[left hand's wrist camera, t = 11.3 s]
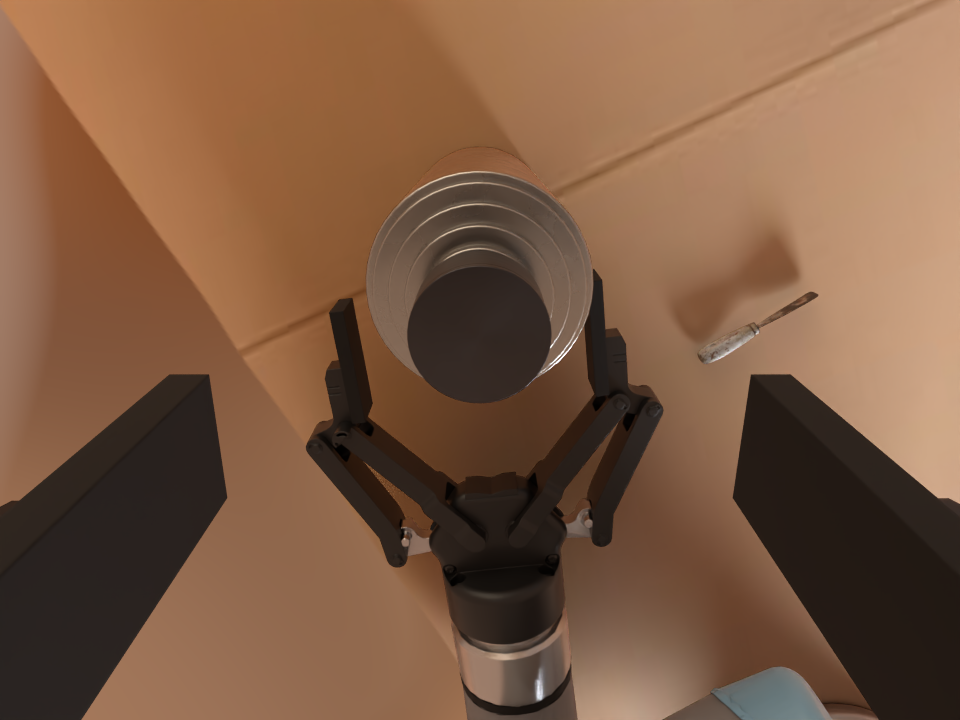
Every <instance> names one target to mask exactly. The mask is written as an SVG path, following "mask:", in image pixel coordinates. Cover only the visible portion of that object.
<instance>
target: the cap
mask: <svg viewBox="0 0 960 720" xmlns="http://www.w3.org/2000/svg"><path fill="white" fill-rule="evenodd" d="M551 340H552V329H551V322H550V317H549V314H548V311H547V308H546V305H545V302H544V299H543V296H542V294H541V291H540V288H539V286H538V284H537V283H536V281H535V279H534V278H533V277H532V275H531V274H530V273H529V272H528V271H527V270H526V269H525V268H524V267H523V266H522V265H521V264H519V263H518V262H516V261H515V260H513V259H512V258H509V257H507V256H505V255H503V254H499V253H496V252H491V251H479V250H477V251H468V252H463V253H459V254H457V255H454V256H451V257H450V258H448V259H446V260H444V261H443V262H441V263H440V264H438V265H437V266H436V267H435V268H434V269H433V270H432V271H431V272H430V273H429V274H428V275H427V277H426V278H425V279H424V281H423V283H422V284H421V286H420V289H419V291H418V293H417V296H416V299H415V302H414V305H413V307H412V310H411V313H410V317H409V321H408V328H407V341H408V348H409V352H410V355H411V358H412V360H413V362H414V365H415V366H416V368H417V370H418V371H419V373H420V374H421V375H422V377H423V378H424V379H425V380H426V381H427V382H428V383H429V384H430V385H431V386H432V387H434V388H435V389H436V390H438V391H439V392H441V393H443V394H444V395H446V396H448V397H451V398H453V399H456V400H460V401H463V402H470V403H490V402H495V401H500V400H503V399H506V398H508V397H510V396H512V395H515V394H517V393H518V392H520V391H521V390H523V389H524V388H525V387H527V386H528V385H529V384H530V383H531V382H532V381H533V380H534V379H535V378H536V377H537V375H538V374H539V373H540V371H541V370H542V368H543V366H544V364H545V362H546V360H547V357H548V355H549V352H550V347H551Z"/></svg>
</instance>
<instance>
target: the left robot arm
mask: <svg viewBox="0 0 960 720" xmlns="http://www.w3.org/2000/svg"><path fill="white" fill-rule="evenodd" d="M226 499H227V493H226V486H225V480H224V473H223V466H222V459H221V453H220V446H219V439H218V432H217V425H216V419H215V412H214V405H213V398H212V392H211V385H210V378H209V375H168V376H167V377H166V378H165V379H164V380H162V381H161V382H160V383H159V384H158V385H157V386H155V387H154V388H153V389H152V390H151V391H149V392H148V393H147V394H146V395H145V396H143V397H142V398H141V399H140V400H139V401H137V402H136V403H135V404H134V405H133V406H132V407H130V408H129V409H128V410H127V411H126V412H124V413H123V414H122V415H121V416H120V417H118V418H117V419H116V420H115V421H114V422H112V423H111V424H110V425H109V426H108V427H107V428H105V429H104V430H103V431H102V432H101V433H99V434H98V435H97V436H96V437H95V438H93V439H92V440H91V441H90V442H89V443H87V444H86V445H85V446H84V447H83V448H81V449H80V450H79V451H78V452H77V453H76V454H74V455H73V456H72V457H71V458H70V459H68V460H67V461H66V462H65V463H64V464H62V465H61V466H60V467H59V468H58V469H57V470H55V471H54V472H53V473H52V474H51V475H49V476H48V477H47V478H46V479H45V480H43V481H42V482H41V483H40V484H39V485H37V486H36V487H35V488H34V489H33V490H32V491H30V492H29V493H28V494H27V495H26V496H24V497H23V498H22V499H21V500H20V501H11V502H9V503H7V504H5V505H3V506H1V507H0V720H81V719H82V718H83V716H84V715H85V713H86V712H87V710H88V709H89V707H90V706H91V704H92V703H93V701H94V700H95V698H96V697H97V695H98V694H99V692H100V690H101V689H102V687H103V686H104V684H105V683H106V681H107V680H108V678H109V677H110V675H111V674H112V672H113V671H114V669H115V668H116V666H117V665H118V663H119V662H120V660H121V659H122V657H123V656H124V654H125V652H126V651H127V649H128V648H129V646H130V645H131V643H132V642H133V640H134V639H135V637H136V636H137V634H138V633H139V631H140V630H141V628H142V627H143V625H144V624H145V622H146V621H147V619H148V617H149V616H150V614H151V613H152V611H153V610H154V608H155V607H156V605H157V604H158V602H159V601H160V599H161V598H162V596H163V595H164V593H165V592H166V590H167V589H168V587H169V586H170V584H171V583H172V581H173V580H174V578H175V577H176V575H177V573H178V572H179V570H180V569H181V567H182V566H183V564H184V563H185V561H186V560H187V558H188V557H189V555H190V554H191V552H192V551H193V549H194V548H195V546H196V544H197V543H198V542H199V540H200V538H201V537H202V535H203V534H204V532H205V531H206V529H207V528H208V526H209V525H210V523H211V522H212V520H213V519H214V517H215V516H216V514H217V513H218V511H219V510H220V508H221V507H222V505H223V504H224V502H225V501H226ZM733 499H734V501H735V502H736V504H737V505H738V507H739V508H740V510H741V511H742V513H743V514H744V516H745V517H746V519H747V520H748V522H749V523H750V525H751V526H752V528H753V529H754V531H755V532H756V534H757V535H758V537H759V539H760V540H761V542H762V543H763V545H764V546H765V548H766V549H767V551H768V552H769V554H770V555H771V557H772V558H773V560H774V561H775V563H776V564H777V566H778V567H779V569H780V570H781V572H782V573H783V575H784V577H785V578H786V580H787V581H788V583H789V584H790V586H791V587H792V589H793V590H794V592H795V593H796V595H797V596H798V598H799V599H800V601H801V602H802V604H803V605H804V607H805V608H806V610H807V611H808V613H809V615H810V616H811V618H812V619H813V621H814V622H815V624H816V625H817V627H818V628H819V630H820V631H821V633H822V634H823V636H824V637H825V639H826V640H827V642H828V643H829V645H830V646H831V648H832V649H833V651H834V653H835V654H836V656H837V657H838V659H839V660H840V662H841V663H842V665H843V666H844V668H845V669H846V671H847V672H848V674H849V675H850V677H851V678H852V680H853V681H854V683H855V684H856V686H857V687H858V689H859V690H860V692H861V694H862V695H863V697H864V698H865V700H866V701H867V703H868V704H869V706H870V707H871V709H872V710H873V712H874V713H875V715H876V716H877V718H878V719H879V720H960V504H959V503H957V502H955V501H953V500H951V499H949V498H937V497H936V496H934V495H933V494H932V493H931V492H930V491H928V490H927V489H926V488H925V487H924V486H923V485H921V484H920V483H919V482H918V481H917V480H915V479H914V478H913V477H912V476H911V475H909V474H908V473H907V472H906V471H905V470H904V469H902V468H901V467H900V466H899V465H898V464H896V463H895V462H894V461H893V460H892V459H890V458H889V457H888V456H887V455H886V454H884V453H883V452H882V451H881V450H880V449H879V448H877V447H876V446H875V445H874V444H873V443H871V442H870V441H869V440H868V439H867V438H865V437H864V436H863V435H862V434H861V433H859V432H858V431H857V430H856V429H855V428H854V427H852V426H851V425H850V424H849V423H848V422H846V421H845V420H844V419H843V418H842V417H840V416H839V415H838V414H837V413H836V412H834V411H833V410H832V409H831V408H830V407H829V406H827V405H826V404H825V403H824V402H823V401H821V400H820V399H819V398H818V397H817V396H815V395H814V394H813V393H812V392H811V391H809V390H808V389H807V388H806V387H805V386H804V385H802V384H801V383H800V382H799V381H798V380H796V379H795V378H794V377H793V376H792V375H751V378H750V385H749V392H748V398H747V405H746V412H745V419H744V425H743V432H742V439H741V446H740V452H739V459H738V466H737V473H736V479H735V486H734V493H733Z"/></svg>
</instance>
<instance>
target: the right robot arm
mask: <svg viewBox="0 0 960 720" xmlns="http://www.w3.org/2000/svg"><path fill="white" fill-rule="evenodd" d="M329 315H330V320H331V324H332V329H333V334H334V339H335V344H336V349H337V353H338V358H339V360H338V361H332V362H331V364H330V365H329V367H328V369H327V371H326V376H325V381H326V385H327V390H328V394H329V399H330V404H331V408H332V413H333V419H331V420H329V421H322V422H319V423H318V424H317V426H316V427H315V429H314V431H313V433H312V435H311V437H310V439H309V441H308V443H307V445H306V450H307V452H308V454H309V455H310V456H311V457H312V459H313V460H314V461H315V462H316V463H317V465H318V466H319V467H320V468H321V469H322V471H323V472H324V473H325V474H326V475H327V476H328V478H329V479H330V480H331V481H332V482H333V484H334V485H335V486H336V487H337V488H338V490H339V491H340V492H341V493H342V494H343V495H344V497H345V498H346V499H347V500H348V501H349V503H350V504H351V505H352V506H353V507H354V509H355V510H356V511H357V512H358V513H359V514H360V516H361V517H362V518H363V519H364V520H365V522H366V523H367V524H368V525H369V526H370V528H371V529H372V530H373V531H374V532H375V534H376V535H377V536H378V537H379V538H380V541H381V544H382V547H383V549H384V552H385V555H386V558H387V561H388V563H389V564H390V565H391V566H393V567H402V566H404V565H405V564H406V561H407V557H408V556H411V555H416V554H421V553H426V552H431V551H432V552H433V554H434V555H435V556H436V557H437V558H438V560H439V561H440V563H441V567H442V572H443V578H444V584H445V590H446V595H447V601H448V607H449V613H450V616H451V619H452V631H453V636H454V642H455V647H456V652H457V658H458V663H459V668H460V675H461V680H462V684H463V689H464V696H465V704H466V711H467V719H468V720H578V719H577V712H576V703H575V696H574V688H573V680H572V673H571V650H570V640H569V630H568V621H567V611H566V607H565V592H564V581H563V571H562V560H561V547H562V544H563V542H564V540H565V538H583V537H591V538H592V542H593V543H594V545H596V546H599V547H603V546H606V545H608V544H609V543H610V542H611V539H612V528H613V514H614V512H615V510H616V508H617V506H618V504H619V502H620V500H621V498H622V496H623V494H624V492H625V490H626V488H627V486H628V484H629V482H630V480H631V477H632V475H633V473H634V471H635V469H636V467H637V465H638V463H639V461H640V459H641V457H642V455H643V453H644V451H645V449H646V447H647V445H648V443H649V441H650V439H651V437H652V435H653V433H654V431H655V428H656V426H657V424H658V422H659V420H660V418H661V416H662V414H663V407H662V405H661V404H660V402H659V400H658V399H657V397H656V395H655V394H654V392H653V391H652V389H651V388H650V387H649V386H647V385H641V386H634V385H631V384H629V383H628V377H627V361H626V360H627V358H626V344H625V342H624V340H623V338H622V336H621V334H620V333H619V331H618V329H617V328H614V329H605V318H604V302H603V286H602V279H601V278H600V277H599V275H598V274H597V272H596V271H595V270H594V269H593V294H592V301H591V306H590V310H589V314H588V317H587V319H586V322H585V325H584V327H585V340H586V354H587V368H588V379H589V382H590V384H591V386H592V389H593V391H594V395H593V397H592V398H591V399H590V401H589V402H588V403H587V404H586V406H585V407H584V408H583V410H582V411H581V412H580V413H579V415H578V416H577V417H576V419H575V420H574V421H573V423H572V424H571V425H570V426H569V428H568V429H567V430H566V432H565V433H564V434H563V435H562V437H561V438H560V439H559V441H558V442H557V443H556V444H555V446H554V447H553V448H552V450H551V451H550V452H549V454H548V455H547V456H546V457H545V459H544V460H540V461H539V462H538V463H537V464H536V466H535V467H534V468H533V469H532V471H531V472H530V473H529V475H528V476H527V477H526V478H525V477H522V476H518V475H516V472H509V473H502V474H499V475H497V476H494V477H483V476H472V477H466V481H464V482H462V483H460V484H457V483H455V482H454V481H453V480H452V479H450V478H449V477H448V476H447V475H445V474H444V473H443V472H440V471H439V472H437V471H435V470H434V469H432V468H431V467H430V466H429V465H427V464H426V463H425V462H424V461H422V460H421V459H420V458H419V457H417V456H416V455H415V454H413V453H412V452H411V451H410V450H408V449H407V448H406V447H405V446H403V445H402V444H401V443H400V442H398V441H397V440H396V439H395V438H393V437H392V436H391V435H390V434H388V433H387V432H386V431H385V430H383V429H382V428H381V427H380V426H378V425H377V424H376V423H375V422H373V421H372V420H371V419H370V418H368V414H369V412H370V409H371V406H372V404H373V402H372V397H371V392H370V387H369V381H368V376H367V371H366V366H365V361H364V356H363V351H362V345H361V340H360V335H359V330H358V325H357V320H356V315H355V309H354V304H353V299H352V298H348V299H340V300H339V301H338V302H337V303H336V304H335V306H334V307H333V308H332V310H331V311H330V312H329ZM619 420H620V421H619ZM618 422H619V423H618ZM617 423H618V425H617V427H616V430H615V432H614V434H613V436H612V438H611V440H610V442H609V445H608V447H607V449H606V451H605V453H604V455H603V457H602V460H601V462H600V464H599V466H598V468H597V470H596V472H595V475H594V477H593V479H592V481H591V484H590V486H589V489H588V493H587V499H581V500H580V501H579V503H578V504H577V505H576V508H575V511H574V512H573V513H572V514H570V515H566V516H564V515H563V513H562V512H561V510H560V509H559V508H558V507H557V506H556V505H557V504H558V503H559V501H560V500H561V498H562V495H563V491H564V490H565V488H566V487H567V486H568V484H569V483H570V482H571V481H572V479H573V478H574V477H575V476H576V474H577V473H578V472H579V471H580V469H581V468H582V467H583V466H584V464H585V463H586V462H587V461H588V459H589V458H590V457H591V456H592V454H593V453H594V452H595V451H596V449H597V448H598V447H599V445H600V444H601V443H602V442H603V440H604V439H605V438H606V437H607V435H608V434H609V433H610V432H611V430H612V429H613V428H614V427H615V425H616V424H617ZM363 461H364V462H365V463H366V464H368V465H369V466H370V467H372V468H373V469H374V470H375V471H377V472H378V473H379V474H381V475H382V476H383V477H385V478H386V479H387V480H388V481H390V482H391V483H392V484H394V485H395V486H396V487H397V488H399V489H400V490H401V491H403V492H404V493H405V494H406V495H408V496H409V497H410V498H412V499H413V500H414V501H415V502H417V503H418V504H419V505H420V506H421V508H422V510H423V512H424V513H425V514H426V515H427V516H428V517H429V518H431V519H432V520H433V521H434V522H433V523H432V525H431V528H430V530H424V529H421V528H420V527H418V525H417V524H416V522H414V520H413V518H411V517H407V518H405V517H404V514H403V512H402V510H401V508H400V507H399V505H398V504H397V502H396V501H395V500H394V499H393V497H392V496H391V495H390V494H389V492H388V491H387V490H386V489H385V488H384V486H383V485H382V484H381V483H380V481H379V480H378V479H377V478H376V476H375V475H374V474H373V473H372V472H371V470H370V469H369V468H368V467H367V465H366V464H365V463H364V462H363ZM710 693H711V694H710V695H708V696H706V697H704V698H702V699H700V700H698V701H697V702H695V703H693V704H691V705H689V706H687V707H685V708H683V709H682V710H680V711H678V712H676V713H674V714H672V715H670V716H668V717H667V718H665V719H663V720H879V719H878V718H877V716H876V715H875V713H874V712H873V711H870V710H868V709H865V708H862V707H857V706H853V705H846V704H822V703H821V701H820V700H819V698H818V697H817V695H816V694H815V693H814V691H813V690H812V688H811V687H810V686H809V684H808V683H807V682H806V681H805V679H804V678H803V677H802V676H801V675H799V674H798V673H797V672H795V671H794V670H791V669H789V668H786V667H780V666H779V667H772V668H769V669H766V670H764V671H761V672H759V673H756V674H754V675H751V676H749V677H746V678H744V679H741V680H739V681H736V682H734V683H731V684H729V685H726V686H724V687H721V688H714V689H713V690H712V691H711V692H710Z"/></svg>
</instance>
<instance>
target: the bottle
mask: <svg viewBox="0 0 960 720" xmlns="http://www.w3.org/2000/svg"><path fill="white" fill-rule="evenodd" d="M477 250H479V251H491V252H496V253H499V254H503V255H505V256H507V257H509V258H512V259H513V260H515V261H516V262H518V263H519V264H521V265H522V266H523V267H524V268H525V269H526V270H527V271H528V272H529V273H530V274H531V275H532V277H533V278H534V279H535V281H536V283H537V284H538V286H539V288H540V291H541V294H542V296H543V299H544V302H545V305H546V308H547V311H548V314H549V317H550V322H551V329H552V340H551V347H550V352H549V355H548V357H547V360H546V362H545V364H544V366H543V368H542V370H541V371H540V373H539V374H538V375H537V377H536V378H538V377H539V376H541V375H542V374H544V373H545V372H547V371H548V370H550V369H551V368H552V367H553V366H554V365H555V364H557V363H558V362H559V361H560V360H561V359H562V358H563V357H564V356H565V354H566V353H567V352H568V351H569V350H570V349H571V347H572V346H573V344H574V343H575V341H576V340H577V338H578V337H579V335H580V333H581V331H582V329H583V327H584V325H585V322H586V319H587V317H588V314H589V310H590V306H591V301H592V294H593V269H592V263H591V257H590V253H589V250H588V247H587V244H586V241H585V239H584V237H583V235H582V233H581V231H580V229H579V227H578V225H577V224H576V222H575V221H574V219H573V218H572V216H571V215H570V214H569V213H568V212H567V210H566V209H565V208H564V207H563V206H562V205H561V204H560V202H559V201H558V200H557V199H556V198H555V197H554V196H553V195H552V194H551V192H550V191H549V190H548V189H547V188H546V187H545V186H544V185H543V183H542V182H541V181H540V180H539V179H538V178H537V177H536V176H535V175H534V173H533V172H532V171H531V170H530V169H529V168H528V167H527V166H526V165H525V164H524V163H523V162H522V161H520V160H519V159H517V158H516V157H514V156H513V155H511V154H509V153H506V152H504V151H501V150H498V149H494V148H488V147H471V148H465V149H461V150H458V151H456V152H453V153H451V154H449V155H447V156H445V157H443V158H442V159H441V160H439V161H438V162H437V163H435V164H434V165H433V166H432V167H431V168H430V169H429V170H428V172H427V173H426V174H425V175H424V176H423V177H422V178H421V179H420V180H419V181H418V183H417V184H416V185H415V186H414V187H413V188H412V189H411V190H410V191H409V192H408V194H407V195H406V196H405V197H404V198H403V199H402V200H401V201H400V202H399V203H398V205H397V206H396V207H395V208H394V209H393V210H392V212H391V213H390V214H389V215H388V217H387V218H386V219H385V221H384V222H383V224H382V226H381V228H380V229H379V231H378V233H377V235H376V237H375V240H374V242H373V245H372V247H371V250H370V254H369V258H368V262H367V271H366V294H367V300H368V306H369V309H370V313H371V316H372V319H373V322H374V324H375V326H376V329H377V331H378V333H379V335H380V336H381V338H382V339H383V341H384V343H385V344H386V346H387V347H388V348H389V349H390V351H391V352H392V353H393V354H394V356H395V357H396V358H397V359H398V360H399V361H400V362H402V363H403V364H404V365H405V366H406V367H407V368H409V369H410V370H411V371H413V372H414V373H415V374H417V375H418V376H420V377H422V375H421V374H420V373H419V371H418V370H417V368H416V366H415V365H414V362H413V360H412V358H411V355H410V352H409V348H408V341H407V328H408V321H409V317H410V313H411V310H412V307H413V305H414V302H415V299H416V296H417V293H418V291H419V289H420V286H421V284H422V283H423V281H424V279H425V278H426V277H427V275H428V274H429V273H430V272H431V271H432V270H433V269H434V268H435V267H436V266H437V265H438V264H440V263H441V262H443V261H444V260H446V259H448V258H450V257H451V256H454V255H457V254H459V253H463V252H468V251H477ZM422 378H423V377H422ZM536 378H535V379H536Z"/></svg>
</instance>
